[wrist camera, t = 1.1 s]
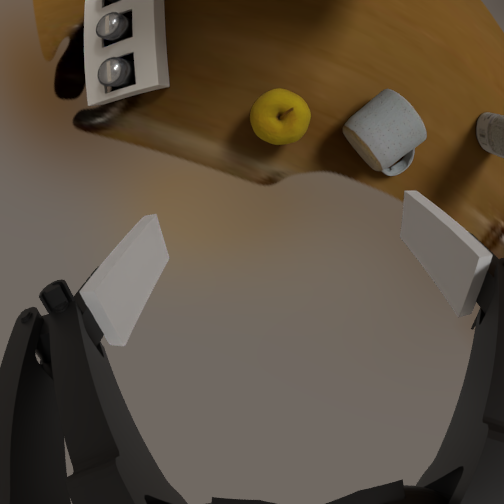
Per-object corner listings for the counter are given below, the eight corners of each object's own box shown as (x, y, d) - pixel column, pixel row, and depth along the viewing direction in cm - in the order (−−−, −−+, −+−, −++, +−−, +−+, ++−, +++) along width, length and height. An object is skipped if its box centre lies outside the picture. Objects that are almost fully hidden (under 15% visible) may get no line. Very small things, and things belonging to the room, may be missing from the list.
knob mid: (110, 24, 22) (94, 18, 18) (135, 15, 21) (120, 7, 18) (111, 46, 23) (94, 42, 20) (135, 37, 23) (120, 31, 20)
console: (100, -5, 20) (86, -11, 17) (163, -28, 19) (153, -39, 16) (103, 104, 29) (88, 106, 26) (169, 86, 29) (158, 84, 25)
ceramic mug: (331, 125, 30) (350, 132, 24) (375, 88, 27) (403, 86, 21) (379, 185, 34) (404, 205, 27) (419, 150, 31) (449, 163, 24)
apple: (308, 96, 29) (321, 92, 22) (299, 144, 32) (310, 155, 25) (255, 87, 29) (253, 80, 22) (248, 136, 32) (244, 144, 25)
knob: (112, 65, 25) (95, 62, 21) (136, 57, 25) (121, 52, 21) (114, 90, 27) (97, 89, 23) (139, 82, 26) (123, 80, 23)
